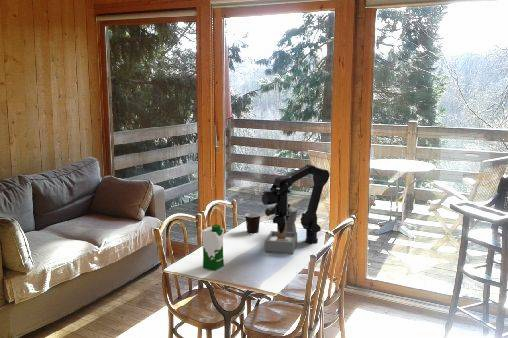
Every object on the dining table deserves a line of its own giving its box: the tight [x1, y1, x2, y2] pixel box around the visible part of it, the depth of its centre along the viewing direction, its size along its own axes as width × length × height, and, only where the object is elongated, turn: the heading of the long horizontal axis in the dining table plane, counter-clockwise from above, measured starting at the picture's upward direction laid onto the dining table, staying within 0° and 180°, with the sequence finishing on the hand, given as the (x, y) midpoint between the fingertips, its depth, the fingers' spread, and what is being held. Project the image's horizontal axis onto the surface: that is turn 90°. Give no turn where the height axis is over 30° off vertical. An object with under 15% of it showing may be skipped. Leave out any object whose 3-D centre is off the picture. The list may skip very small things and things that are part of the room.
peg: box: [276, 223, 286, 239], centre depth 243 cm, size 4×4×9 cm
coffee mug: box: [244, 212, 261, 235], centre depth 268 cm, size 12×9×10 cm
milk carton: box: [200, 224, 225, 272], centre depth 219 cm, size 9×9×20 cm
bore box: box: [264, 230, 298, 255], centre depth 244 cm, size 16×14×6 cm
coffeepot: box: [286, 203, 298, 233], centre depth 263 cm, size 15×9×18 cm, turn 29°
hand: (281, 231), depth 243 cm, fingers closed on peg, 4 cm apart
